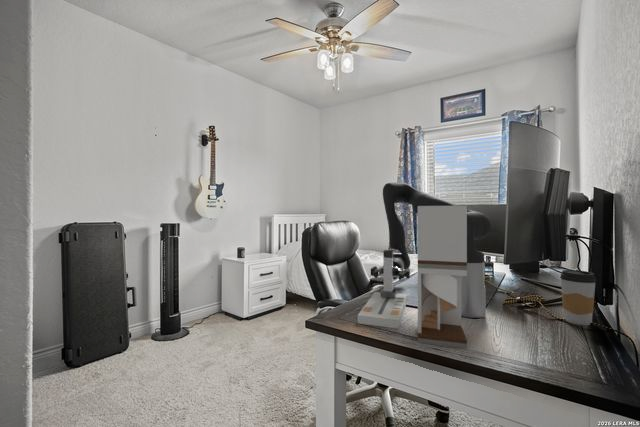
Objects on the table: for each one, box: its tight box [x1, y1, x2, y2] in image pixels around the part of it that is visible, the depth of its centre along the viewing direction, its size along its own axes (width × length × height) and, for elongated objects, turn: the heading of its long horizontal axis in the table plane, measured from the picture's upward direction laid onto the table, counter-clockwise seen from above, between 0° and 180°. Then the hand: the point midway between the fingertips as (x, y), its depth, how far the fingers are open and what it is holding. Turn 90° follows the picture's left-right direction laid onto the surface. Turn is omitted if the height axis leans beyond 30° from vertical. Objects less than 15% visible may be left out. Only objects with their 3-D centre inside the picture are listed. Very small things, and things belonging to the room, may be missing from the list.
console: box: [357, 291, 408, 330], centre depth 102 cm, size 12×28×3 cm, turn 159°
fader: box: [380, 249, 397, 298], centre depth 109 cm, size 5×4×16 cm
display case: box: [417, 205, 468, 349], centre depth 81 cm, size 11×11×35 cm
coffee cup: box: [560, 269, 597, 326], centre depth 91 cm, size 8×8×15 cm
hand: (387, 276), depth 108 cm, fingers open, 8 cm apart
